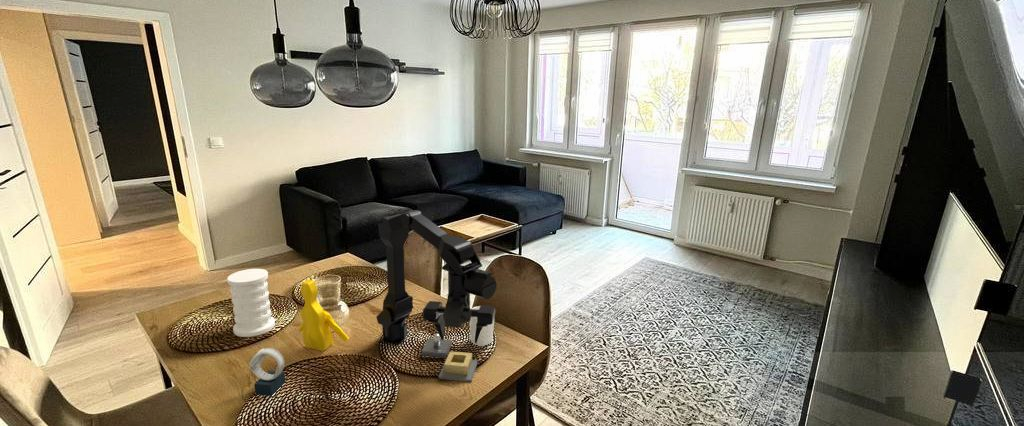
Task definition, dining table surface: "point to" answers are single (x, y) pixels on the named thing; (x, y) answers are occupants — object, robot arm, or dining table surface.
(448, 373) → the square hollow block
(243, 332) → the decorative container
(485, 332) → the white cup
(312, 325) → the figure statuette
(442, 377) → the felt coaster
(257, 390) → the white ring sculpture
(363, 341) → the dining table surface
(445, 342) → the grey peg base
